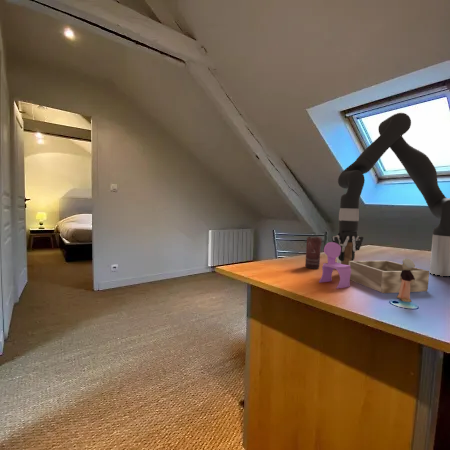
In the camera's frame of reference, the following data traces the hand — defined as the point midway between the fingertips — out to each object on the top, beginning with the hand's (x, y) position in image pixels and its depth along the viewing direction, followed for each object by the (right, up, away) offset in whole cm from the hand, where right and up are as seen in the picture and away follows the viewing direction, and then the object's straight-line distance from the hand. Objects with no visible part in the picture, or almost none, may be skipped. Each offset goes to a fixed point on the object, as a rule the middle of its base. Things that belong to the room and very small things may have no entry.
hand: (346, 260), depth 119 cm
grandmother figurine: (+4, -8, -32) cm, 33 cm away
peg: (0, -4, 0) cm, 4 cm away
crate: (+8, -7, -15) cm, 18 cm away
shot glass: (+5, -5, +14) cm, 16 cm away
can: (-11, -5, +10) cm, 16 cm away
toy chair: (-12, -7, -17) cm, 22 cm away
